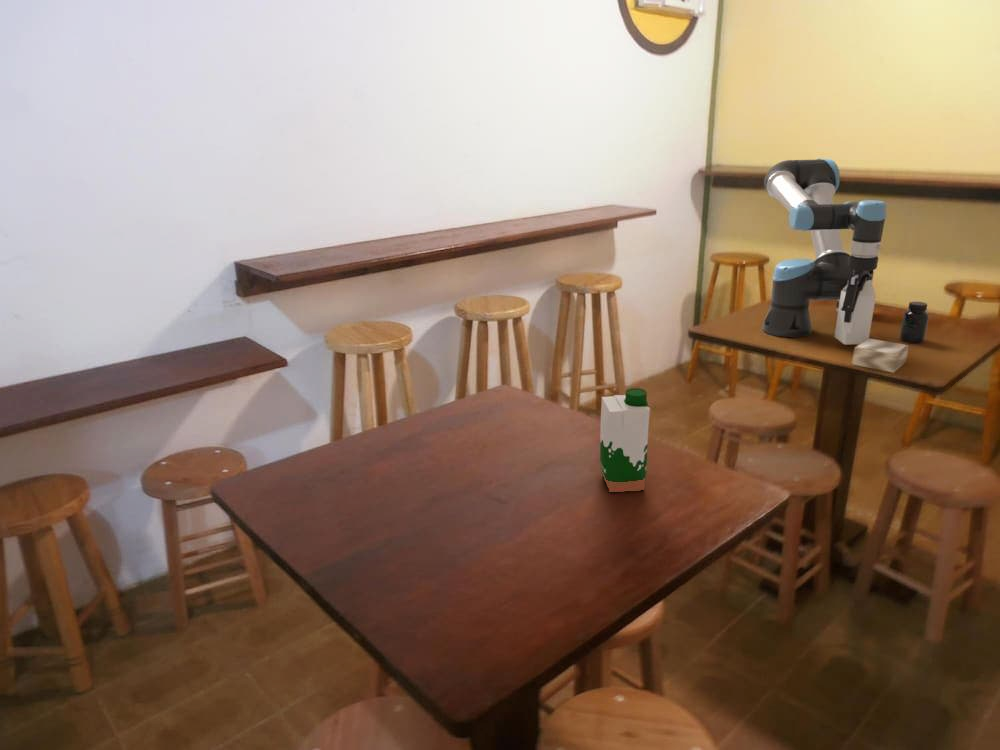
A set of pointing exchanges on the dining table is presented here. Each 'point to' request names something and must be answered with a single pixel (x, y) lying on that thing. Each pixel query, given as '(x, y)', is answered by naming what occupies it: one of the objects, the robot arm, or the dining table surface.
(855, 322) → the milk carton
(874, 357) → the pedestal
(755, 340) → the dining table surface
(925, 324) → the supplement bottle
